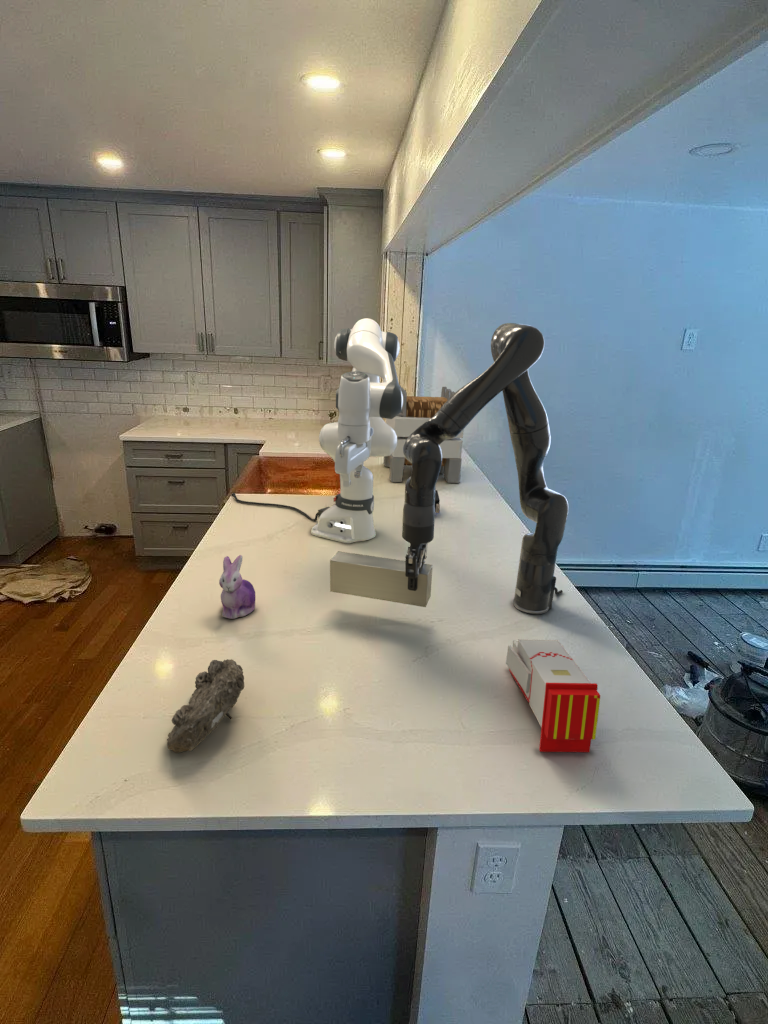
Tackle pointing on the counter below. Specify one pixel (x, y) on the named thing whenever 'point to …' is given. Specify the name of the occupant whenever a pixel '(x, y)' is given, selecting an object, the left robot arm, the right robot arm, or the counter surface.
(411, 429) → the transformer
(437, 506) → the figurine character
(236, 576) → the figurine
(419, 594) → the box
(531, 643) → the toy
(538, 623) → the counter surface
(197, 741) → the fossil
